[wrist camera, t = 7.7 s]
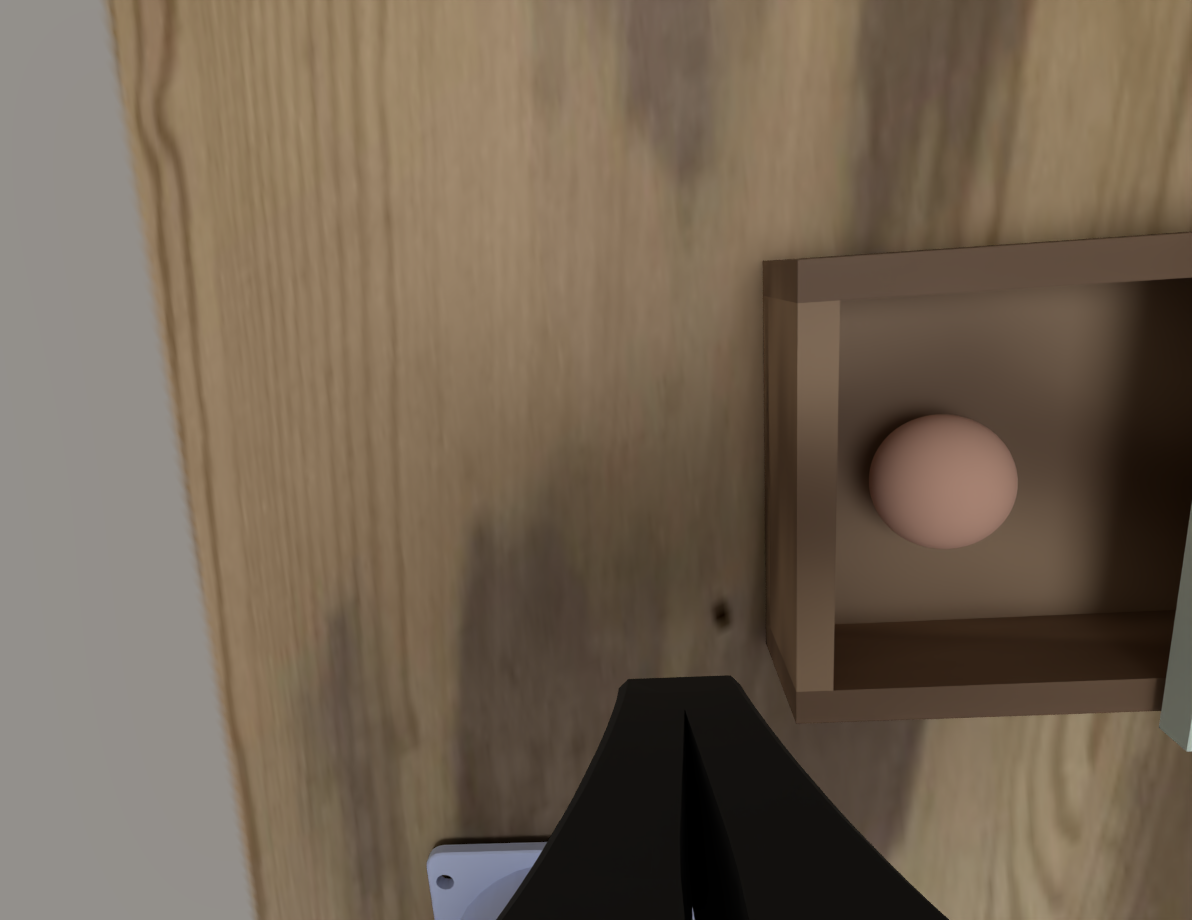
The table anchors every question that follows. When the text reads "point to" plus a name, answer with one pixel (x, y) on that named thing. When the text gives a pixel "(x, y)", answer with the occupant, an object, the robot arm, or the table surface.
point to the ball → (943, 481)
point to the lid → (1180, 661)
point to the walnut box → (1042, 458)
